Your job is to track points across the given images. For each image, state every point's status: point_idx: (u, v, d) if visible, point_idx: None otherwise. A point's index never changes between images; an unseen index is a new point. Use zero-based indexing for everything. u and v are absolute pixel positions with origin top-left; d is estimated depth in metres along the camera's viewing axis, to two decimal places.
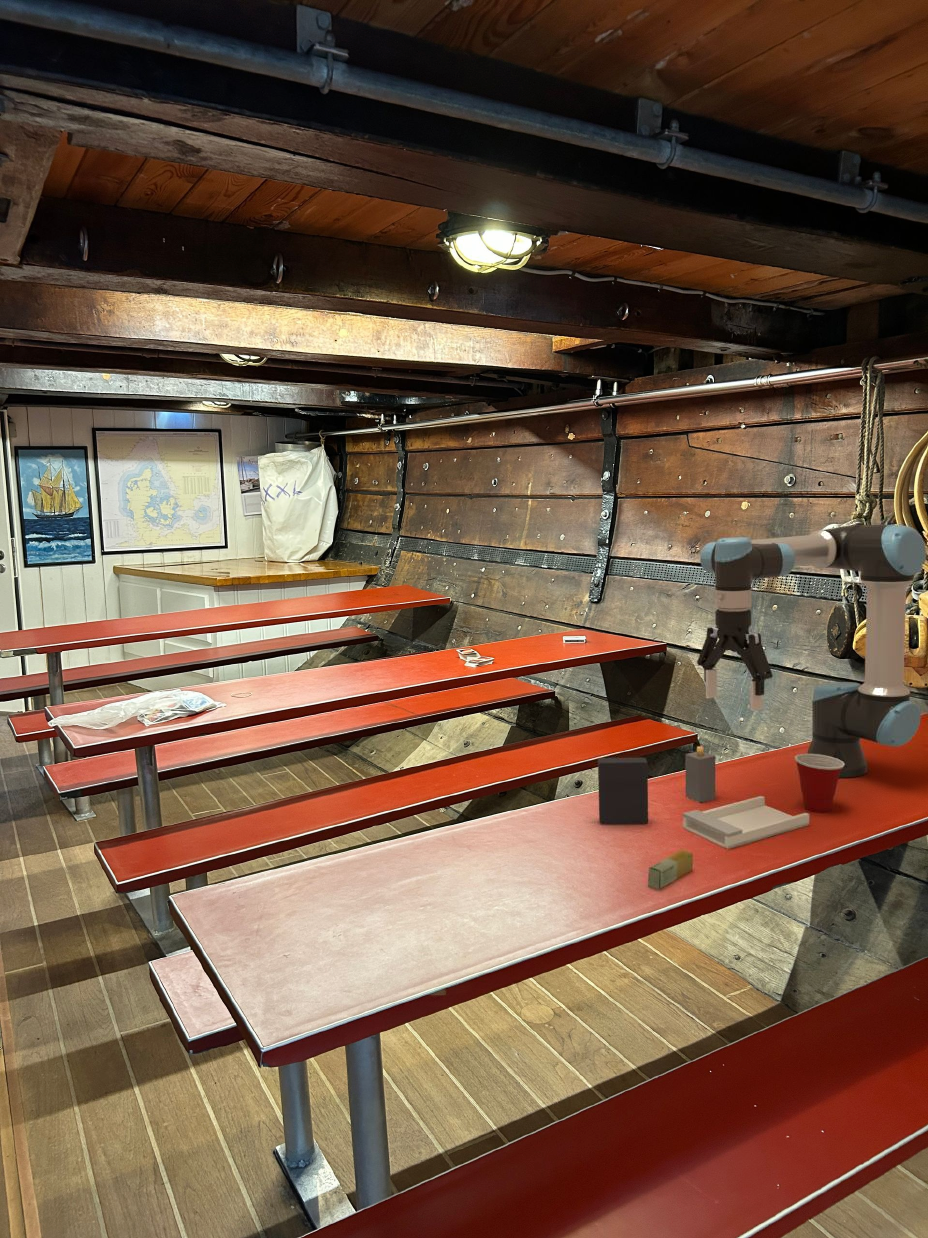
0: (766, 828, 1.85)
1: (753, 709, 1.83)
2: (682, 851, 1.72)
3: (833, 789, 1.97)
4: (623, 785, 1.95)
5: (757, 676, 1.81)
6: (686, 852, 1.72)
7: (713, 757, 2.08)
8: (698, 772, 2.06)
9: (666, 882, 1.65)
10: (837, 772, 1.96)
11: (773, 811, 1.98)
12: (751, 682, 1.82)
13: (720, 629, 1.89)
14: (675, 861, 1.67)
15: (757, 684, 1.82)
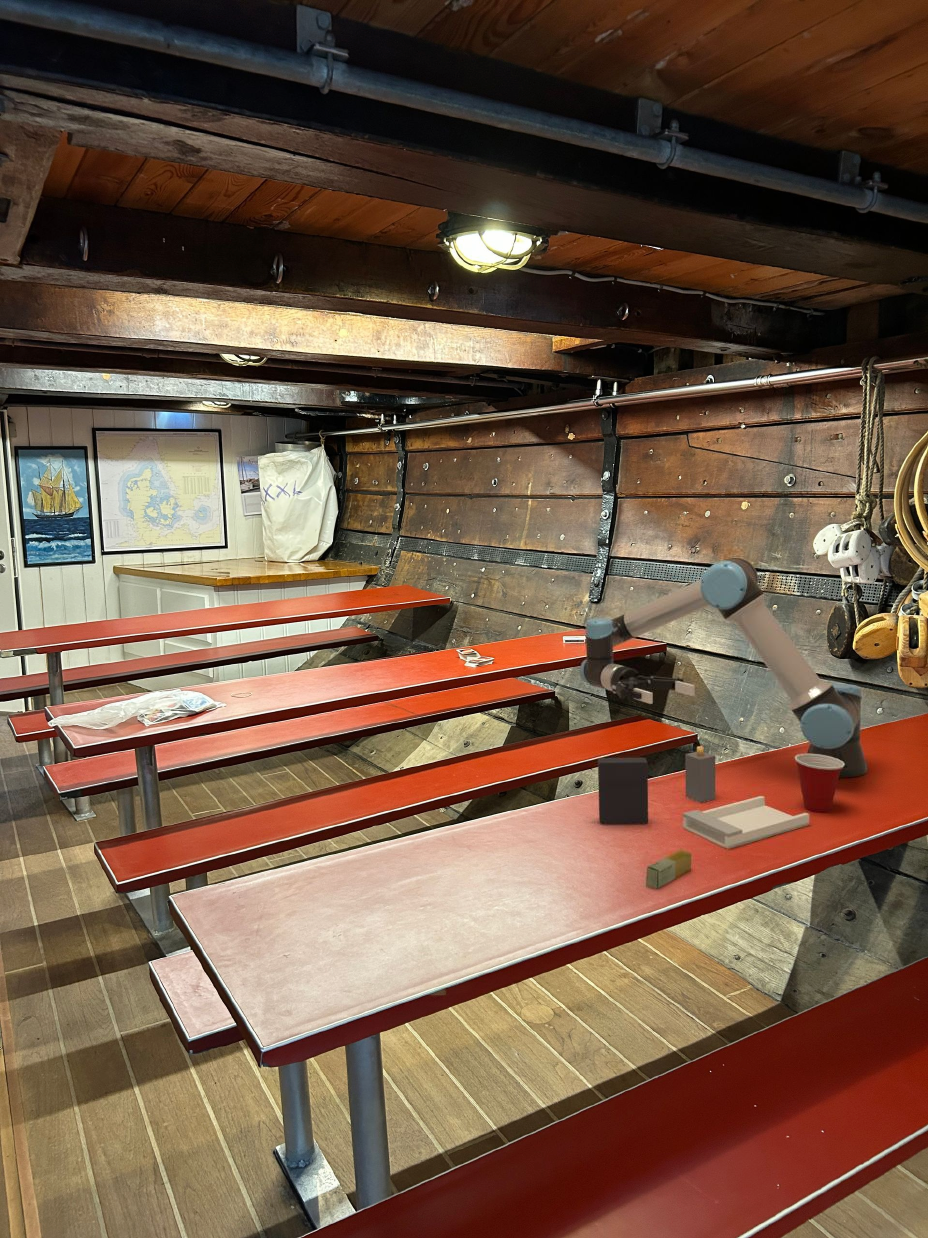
0: (766, 828, 1.85)
1: (649, 702, 2.13)
2: (681, 851, 1.72)
3: (833, 789, 1.97)
4: (623, 785, 1.95)
5: (628, 697, 2.19)
6: (684, 851, 1.72)
7: (713, 757, 2.08)
8: (698, 772, 2.06)
9: (664, 882, 1.66)
10: (837, 772, 1.96)
11: (773, 811, 1.98)
12: None
13: None
14: (674, 861, 1.68)
15: None
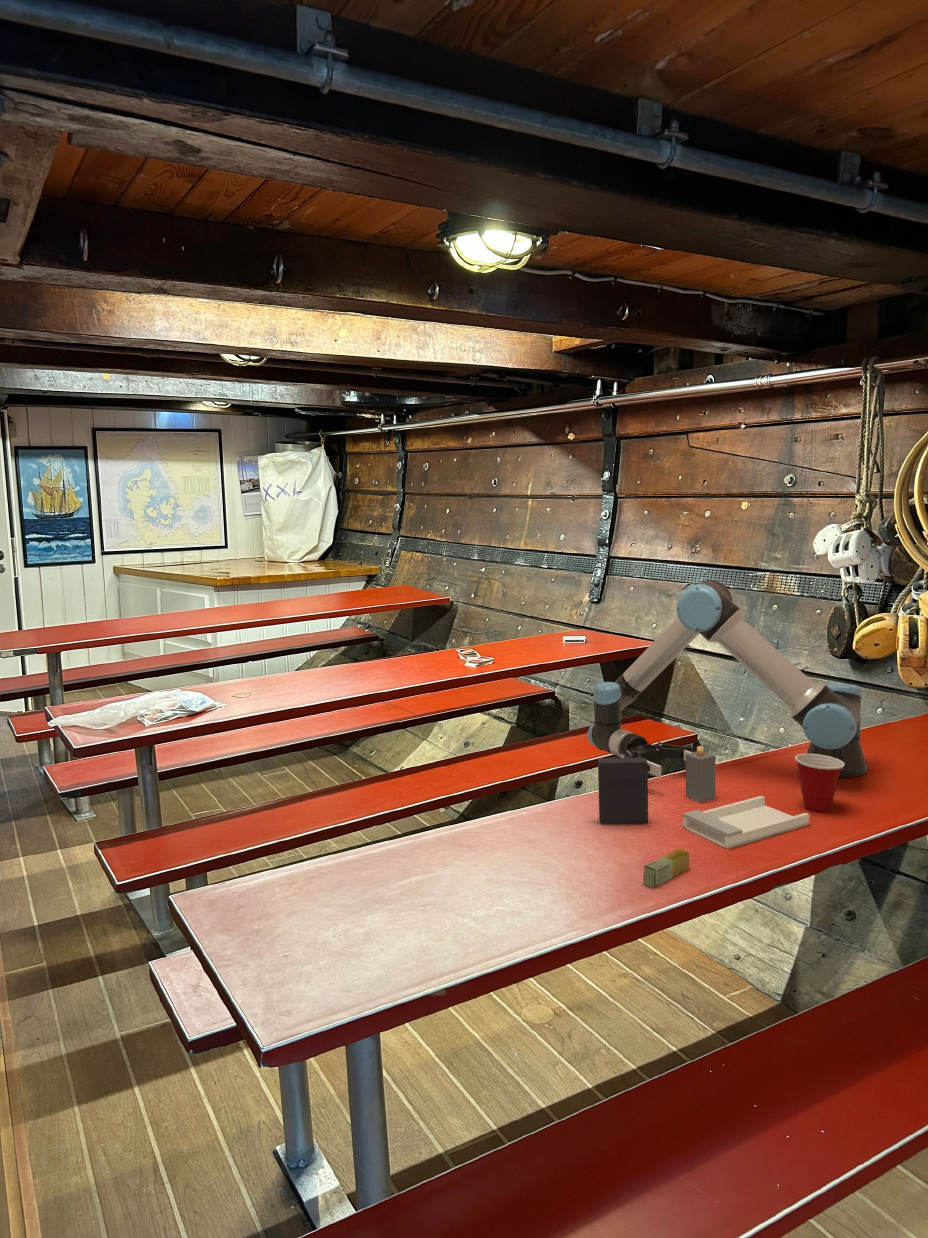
0: (766, 828, 1.85)
1: (658, 776, 2.12)
2: (679, 850, 1.72)
3: (833, 789, 1.97)
4: (623, 785, 1.95)
5: None
6: (683, 851, 1.72)
7: (713, 757, 2.08)
8: (698, 772, 2.06)
9: (661, 881, 1.66)
10: (837, 772, 1.96)
11: (773, 811, 1.98)
12: None
13: None
14: (671, 860, 1.68)
15: None
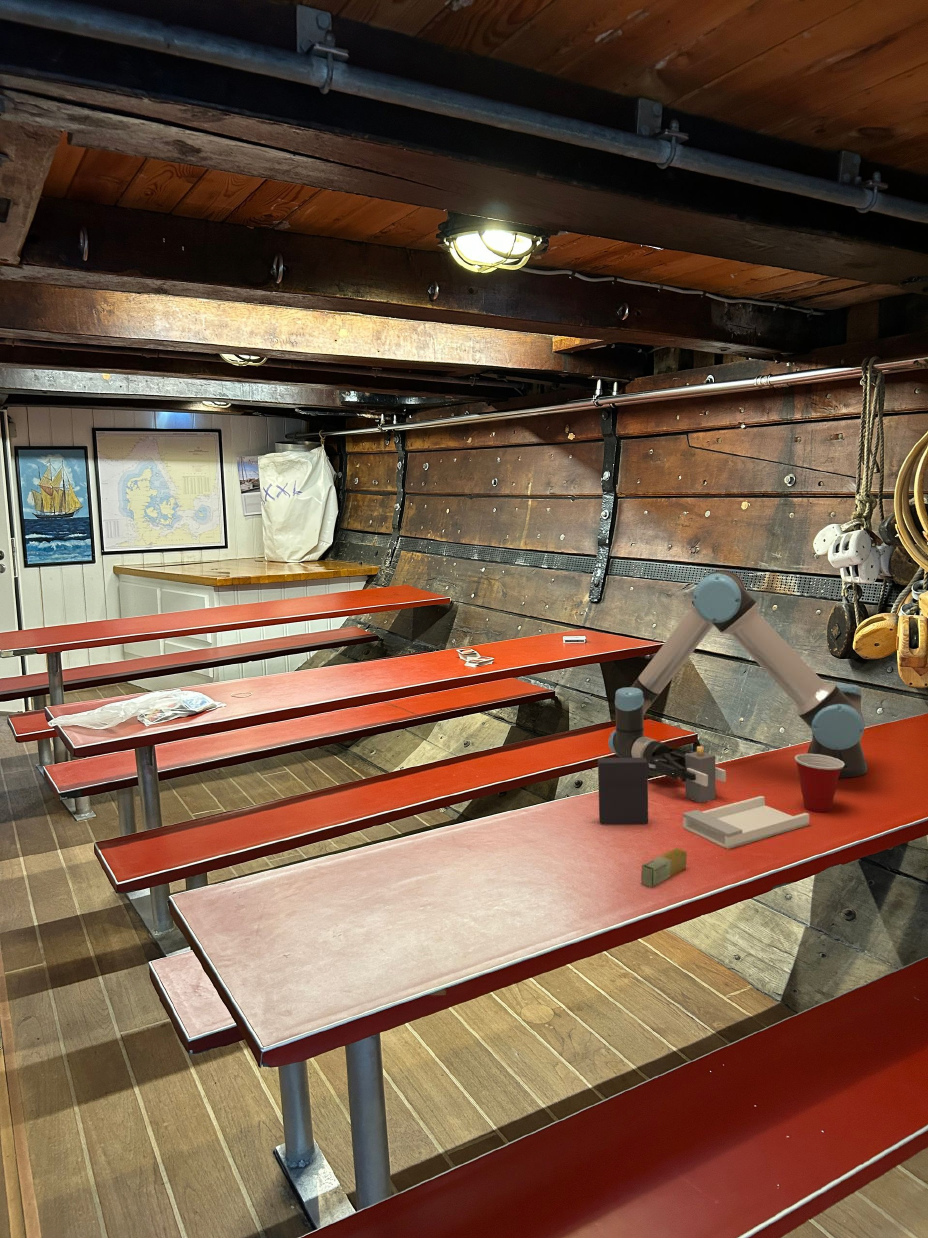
0: (766, 828, 1.85)
1: (704, 785, 2.04)
2: (676, 849, 1.73)
3: (833, 789, 1.97)
4: (623, 785, 1.95)
5: (680, 777, 2.10)
6: (680, 850, 1.73)
7: (713, 757, 2.08)
8: None
9: (659, 880, 1.66)
10: (837, 772, 1.96)
11: (773, 811, 1.98)
12: None
13: None
14: (669, 859, 1.68)
15: None
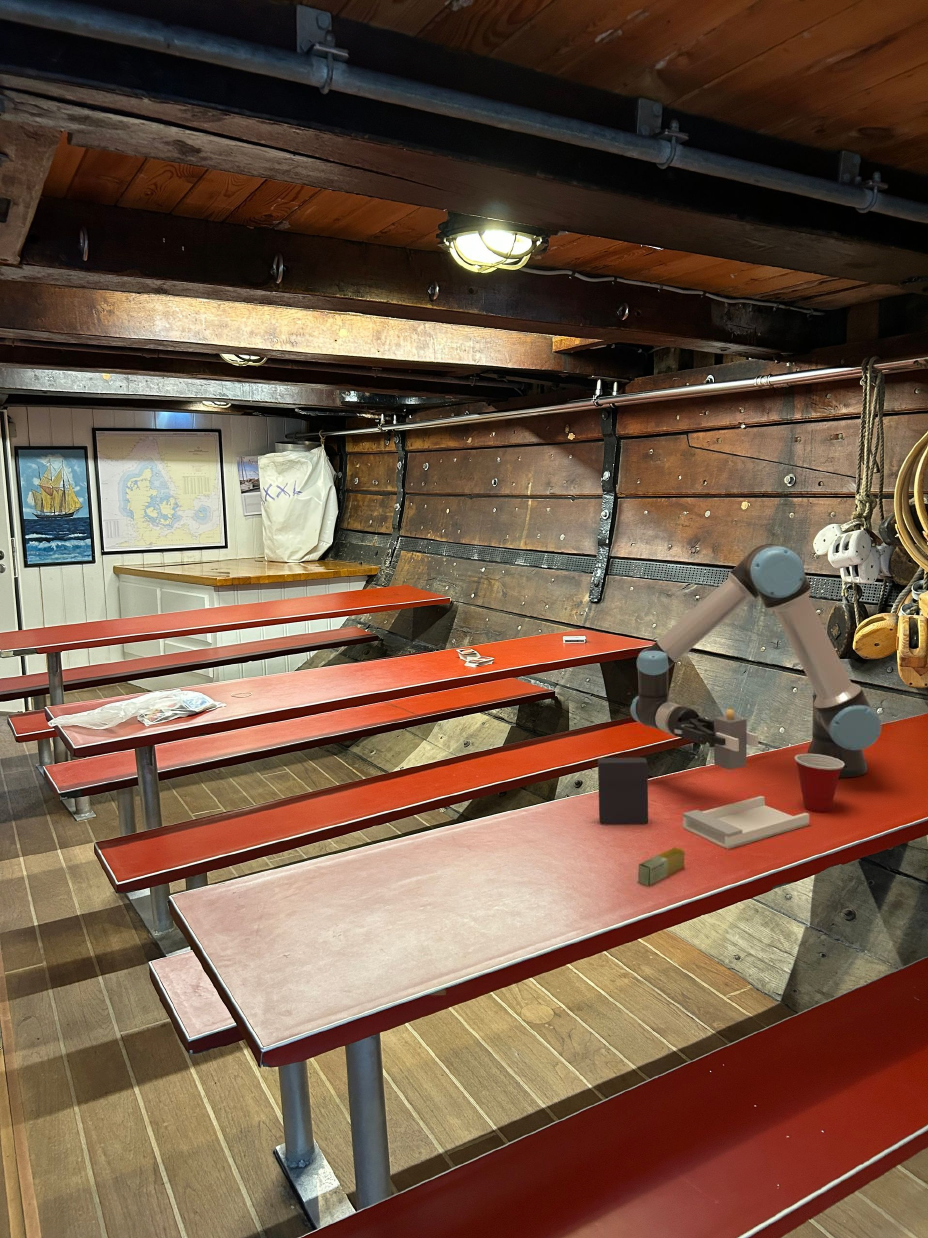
0: (766, 828, 1.85)
1: (735, 750, 1.90)
2: (674, 849, 1.73)
3: (833, 789, 1.97)
4: (623, 785, 1.95)
5: (709, 743, 1.96)
6: (678, 849, 1.73)
7: (744, 720, 1.93)
8: None
9: (656, 879, 1.67)
10: (837, 772, 1.96)
11: (773, 811, 1.98)
12: None
13: None
14: (666, 858, 1.69)
15: None
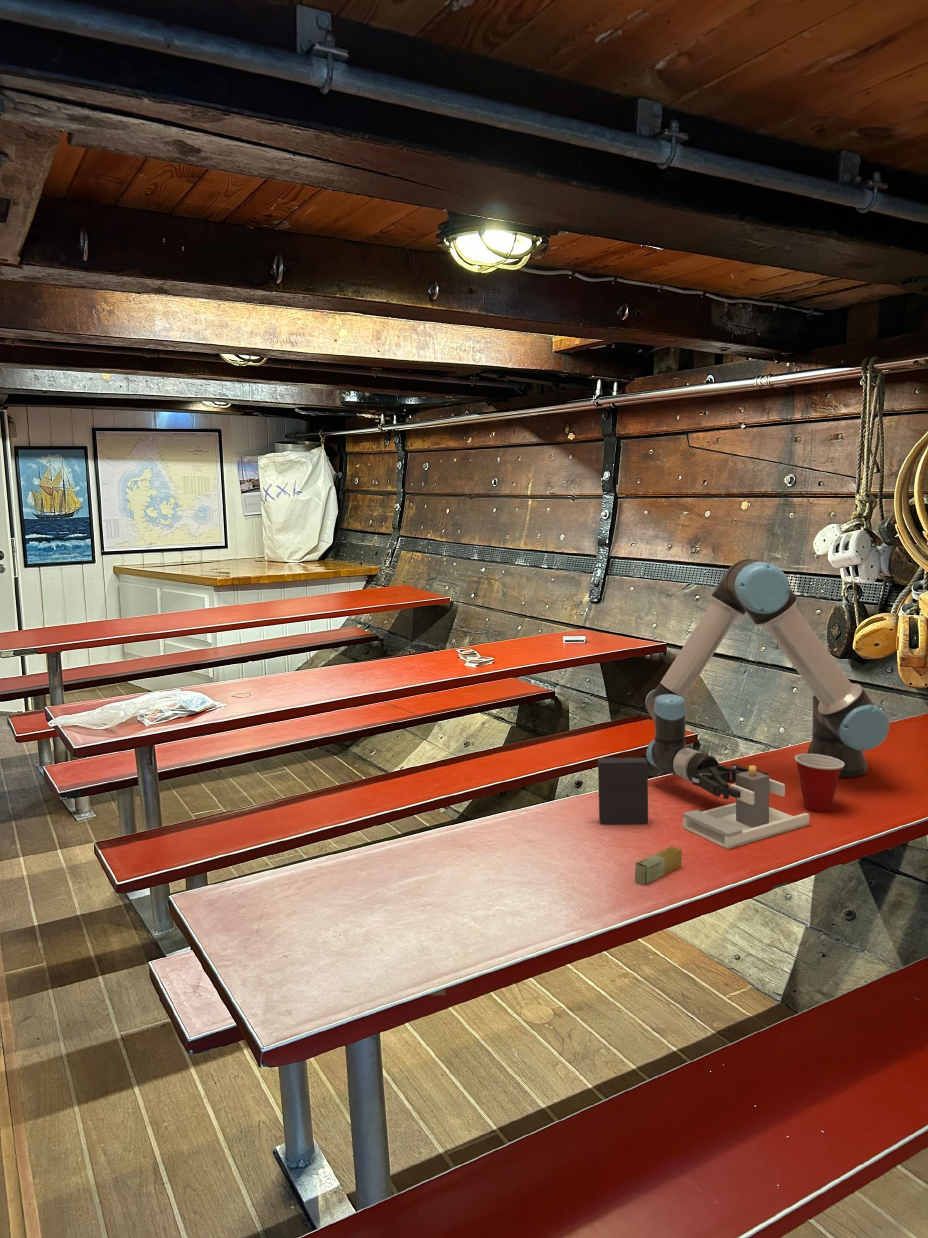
0: (766, 828, 1.85)
1: (751, 803, 1.86)
2: (671, 848, 1.74)
3: (833, 789, 1.97)
4: (623, 785, 1.95)
5: (723, 794, 1.92)
6: (675, 848, 1.73)
7: (767, 777, 1.90)
8: None
9: (653, 878, 1.67)
10: (837, 772, 1.96)
11: (773, 811, 1.98)
12: None
13: None
14: (663, 857, 1.69)
15: None
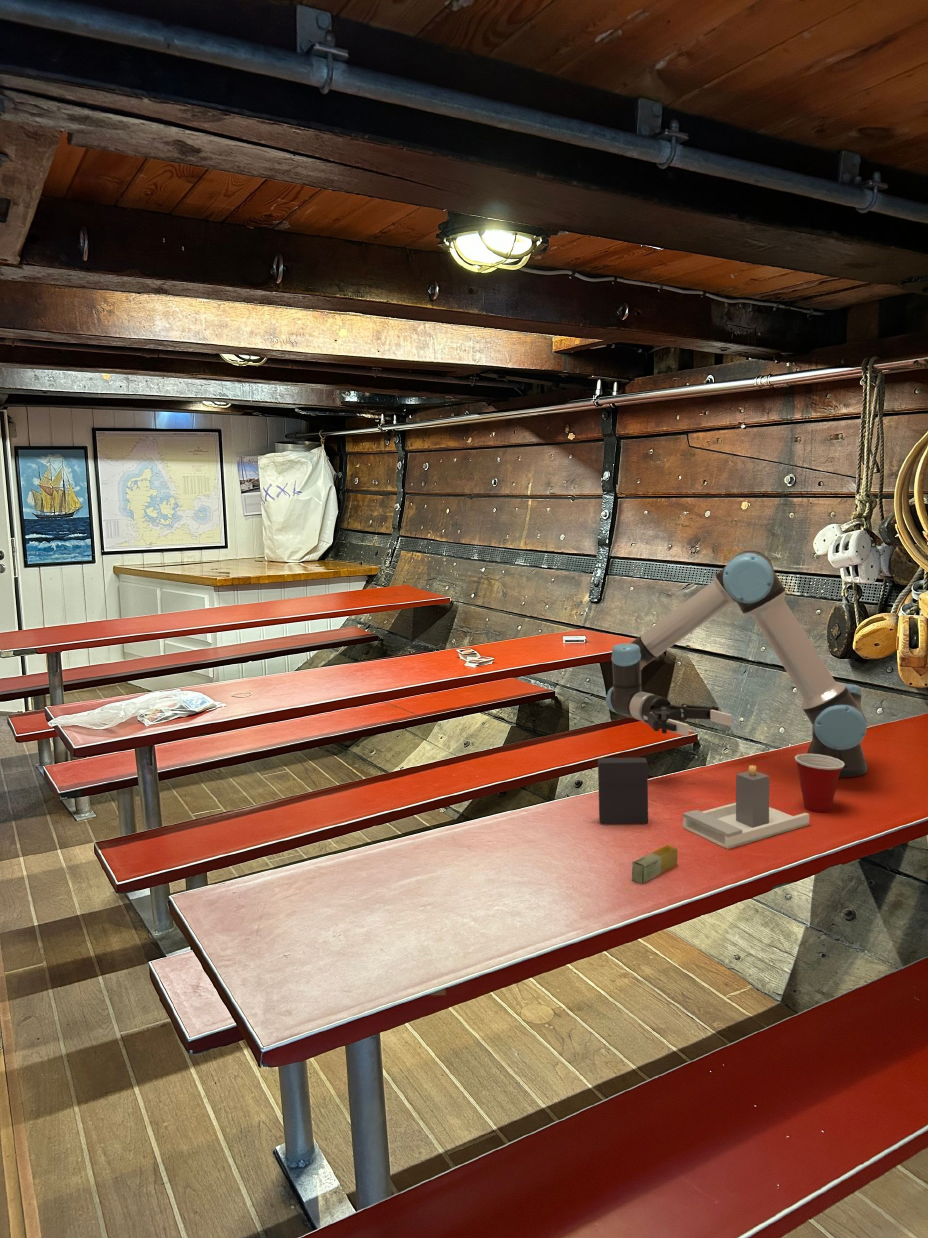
0: (766, 828, 1.85)
1: (685, 735, 2.01)
2: (667, 846, 1.74)
3: (833, 789, 1.97)
4: (623, 785, 1.95)
5: None
6: (671, 847, 1.74)
7: (767, 777, 1.90)
8: (751, 794, 1.89)
9: (650, 877, 1.68)
10: (837, 772, 1.96)
11: (773, 811, 1.98)
12: None
13: None
14: (659, 856, 1.70)
15: None
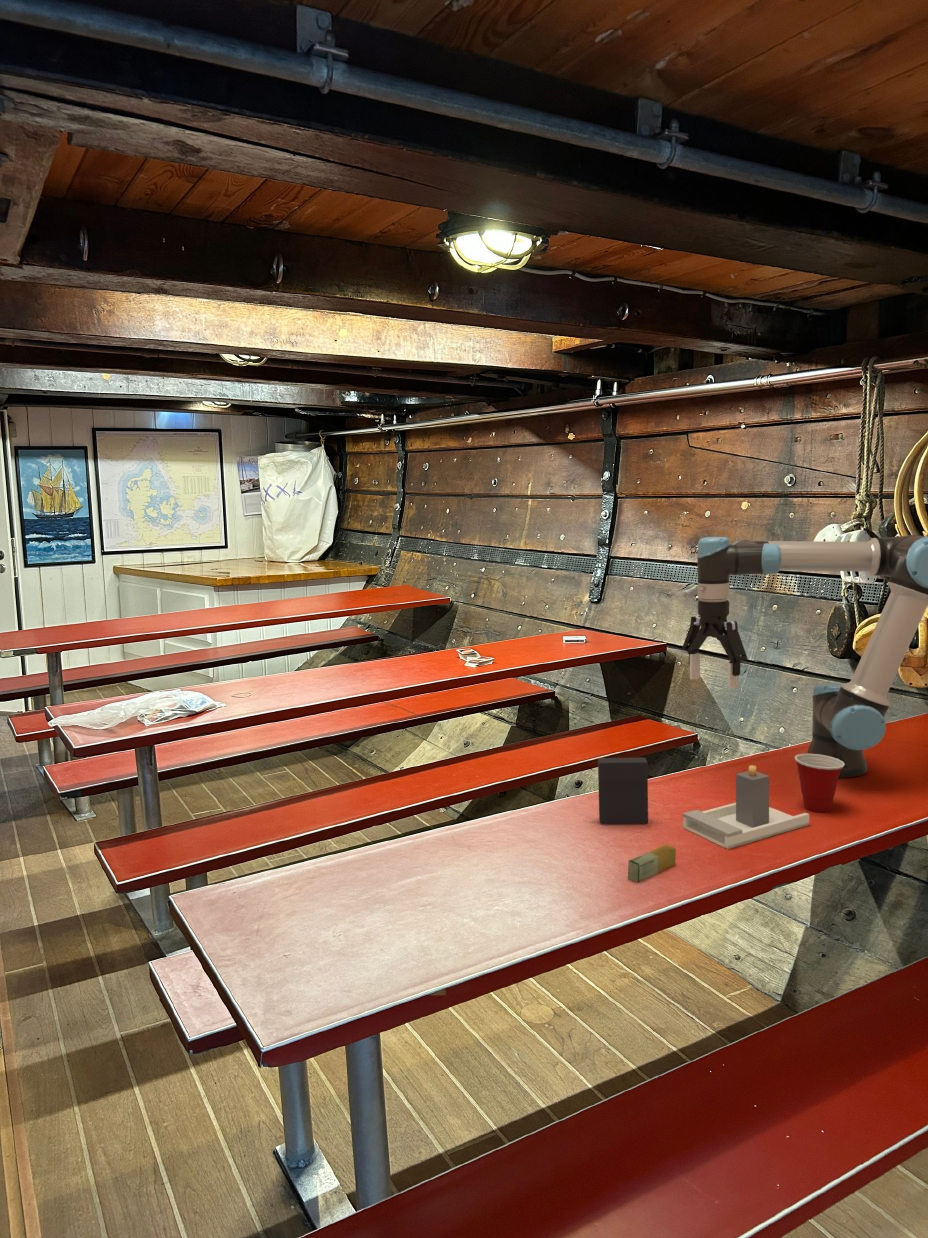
0: (766, 828, 1.85)
1: (730, 688, 2.08)
2: (665, 846, 1.75)
3: (833, 789, 1.97)
4: (623, 785, 1.95)
5: (734, 658, 2.06)
6: (669, 846, 1.74)
7: (767, 777, 1.90)
8: (751, 794, 1.89)
9: (646, 876, 1.69)
10: (837, 772, 1.96)
11: (773, 811, 1.98)
12: (729, 664, 2.08)
13: (702, 618, 2.15)
14: (656, 855, 1.70)
15: (734, 665, 2.07)
